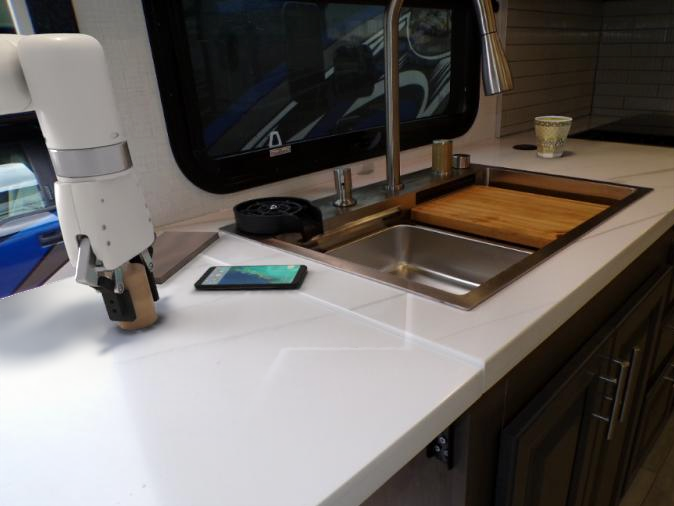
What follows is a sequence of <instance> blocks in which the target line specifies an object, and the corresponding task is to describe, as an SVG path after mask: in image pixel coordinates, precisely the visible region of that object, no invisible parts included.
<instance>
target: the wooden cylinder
mask: <svg viewBox="0 0 674 506" xmlns="http://www.w3.org/2000/svg"><path fill="white" fill-rule="evenodd" d="M121 267H122V275H123V283H124V290H129V292H130V295H131V299H132V302H133V306H134V309H135V313H136V317H137V318H136V320H135V321H133V322H121V321H117V323H118V325H119V327H120V328H121V329H123V330H126V331H132V330H133V331H134V330H139V329H140V330H141V329H144V328H147V327H150V326H151V325H153V324H155V322H157V321H158V318H159V316H158V312H157V308H156V306H155V302H154V301H153V297H152V293H151V289H150V286H149V282H148V278H147V274H146V271H145V267H144V265H142V264H139V263H128V264H122V265H121ZM105 277H107V278H109V279H111V280H112V275H111V272H105Z"/></svg>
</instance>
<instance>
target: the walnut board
mask: <svg viewBox="0 0 674 506" xmlns="http://www.w3.org/2000/svg"><path fill="white" fill-rule="evenodd" d="M219 238H220V235H219V231H169V230H167V231H164V232H162V233H161V234H159V235H158V236H157V238H156V241H155V244H154V247H153V256H152V261H153V263H154V269H153V270H152V271H150V272H153V275H154V279H155V283H156V285H162V284H164V283H165V282H166V281H167V280H168V279H170V278H171V277H172V276H173V275H174V274H176V273H177V272H178V271H179V270H181V269H182V268H183V267H185V266H186V265H187V264H189V262H190V261H192V260H193V259H194V258H195V257H197V256H199V254H201V253H202V252H203V251H204V250H205V249H206V248H208V247H209V246H210V245H212V244H213V243H214V242H215V241H216V240H217V239H219ZM124 264H126V263H124ZM104 273H105V272H104Z"/></svg>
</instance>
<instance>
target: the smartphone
mask: <svg viewBox="0 0 674 506" xmlns="http://www.w3.org/2000/svg"><path fill="white" fill-rule="evenodd" d="M307 270H308V265H306V264H263V265H262V264H260V265H213V266H210V267H208V268H207V269H206V271H205V272H204V273H203V274H202V275H201V276H200V277H199V278H198V279H197V280H196V281H195V282H194V284H193V287H194V288H195V289H197V290H221V289H223V290H225V289H227V290H228V289H229V290H231V289H232V290H233V289H289V288H290V289H291V288H293V289H294V288H298V287H299V286H300V285H301V283H302V281H303V279H304V277H305V274H306V273H307Z"/></svg>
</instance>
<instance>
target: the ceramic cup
mask: <svg viewBox="0 0 674 506" xmlns="http://www.w3.org/2000/svg"><path fill="white" fill-rule="evenodd" d="M572 122H573V118H572V117H569V116H561V115H559V116H558V115H545V116H538V117H534V130H535V138H536V152H537V156H538V157H542V158H549V159H550V158H551V159H552V158H553V159H554V158H560V157H562V155H563V152H564V149H565V145H566V141H567V138H568V135H569V132H570V129H571V126H572Z"/></svg>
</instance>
